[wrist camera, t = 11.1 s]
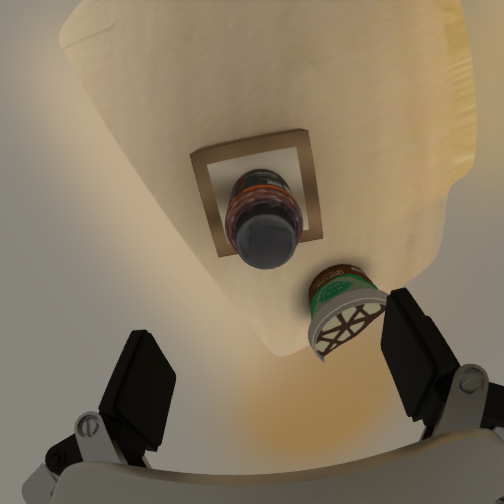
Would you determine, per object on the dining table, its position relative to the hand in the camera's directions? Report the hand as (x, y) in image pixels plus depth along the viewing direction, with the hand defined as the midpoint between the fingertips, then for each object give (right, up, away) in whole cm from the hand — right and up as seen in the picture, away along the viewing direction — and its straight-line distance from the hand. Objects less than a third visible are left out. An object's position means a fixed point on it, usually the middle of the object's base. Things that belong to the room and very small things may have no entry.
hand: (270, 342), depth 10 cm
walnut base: (0, +11, +22) cm, 25 cm away
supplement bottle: (0, +9, +18) cm, 20 cm away
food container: (+10, -1, +29) cm, 31 cm away
